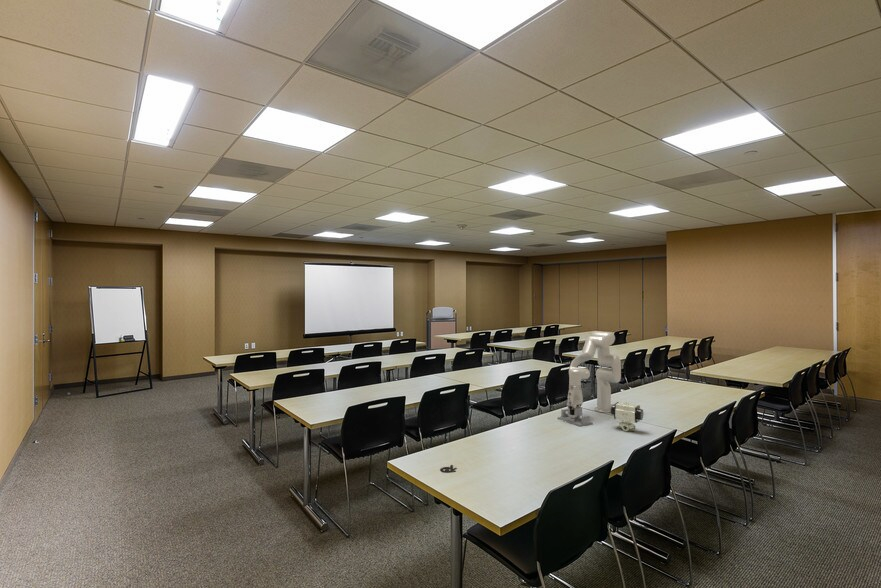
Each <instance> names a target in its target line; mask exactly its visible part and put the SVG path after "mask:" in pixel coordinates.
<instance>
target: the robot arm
mask: <svg viewBox="0 0 881 588" xmlns="http://www.w3.org/2000/svg"><path fill="white" fill-rule="evenodd" d="M615 341H616V336H615V334H614V333H613V332H608V331H607V332H606V331H592V332H590V335H589V336H587V337H586V338H585V342H584V345H583V347H582V350H581V353H580V354H578V355H577V356H575V358H573V359H572V361H571V363H570V365H569V369H568V377H569V381H568V383H569V384H568V393H567V403H566V406H567V408H568V407H569V409H570V415H574V409H573V408H574V405H575V406H578V407H582V405H583V403H584V399H583V397H584V396H583V391H582V390H583V389H582V380H583V381H584V380H588V379H589V378H590V376H591V372H590V370H589V369H587V368H584V367H578V366H579V365H580V364H582V363H584V362H587V361H590V360H592V359H593V358H594V357H595V354H597V364H598V365H599V366H600V367H599V368H597V369H596V371H595V376H596V377H595V378H596V384H597V385H596V396H597V398H596V407H595V408H594V410H595V411H596V412H599V413H606V414H608V413H610V414H611V406H612V405H614V404H615V403H613V404H611V402H612V400H611V399H612V388H611V384H610V383H614V384H617V383H619V382H620V381H621V379H622V367H621V366H622V364H621V363H622V362H621V358H620V356H618V355H617V354H611V353H610V349H611V348H610V346H612V345H613V344H614V343H615ZM596 350H597V353H596ZM571 405H572V407H571Z"/></svg>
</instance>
